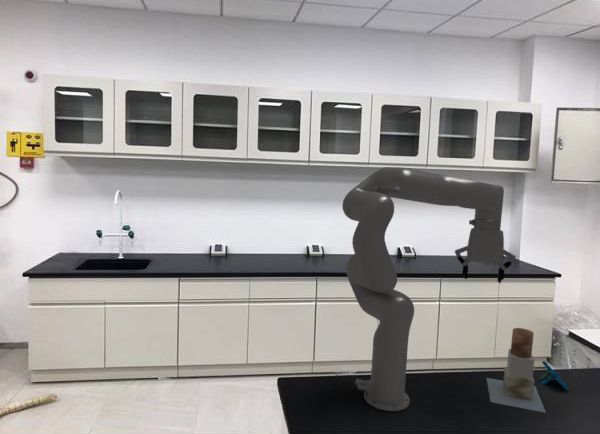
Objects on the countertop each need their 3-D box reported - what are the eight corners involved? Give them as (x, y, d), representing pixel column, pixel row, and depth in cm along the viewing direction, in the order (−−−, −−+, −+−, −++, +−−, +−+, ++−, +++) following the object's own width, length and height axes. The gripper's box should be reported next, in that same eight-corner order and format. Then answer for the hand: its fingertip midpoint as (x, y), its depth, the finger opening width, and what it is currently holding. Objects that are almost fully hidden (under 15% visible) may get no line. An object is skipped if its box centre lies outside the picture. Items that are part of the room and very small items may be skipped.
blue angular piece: (574, 392, 132) (549, 363, 134) (557, 403, 133) (532, 375, 136) (565, 381, 142) (542, 355, 145) (549, 391, 144) (527, 365, 146)
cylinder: (511, 356, 129) (514, 333, 128) (509, 349, 134) (511, 326, 134) (532, 359, 127) (535, 336, 127) (529, 352, 133) (531, 329, 132)
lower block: (505, 396, 130) (507, 376, 129) (503, 385, 137) (504, 366, 136) (532, 401, 128) (534, 381, 127) (528, 389, 134) (530, 371, 134)
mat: (490, 403, 126) (490, 401, 126) (486, 379, 141) (486, 377, 141) (545, 414, 122) (545, 412, 122) (535, 387, 137) (535, 386, 137)
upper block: (509, 376, 130) (511, 356, 129) (506, 367, 135) (508, 348, 135) (532, 380, 128) (534, 360, 127) (528, 371, 133) (530, 352, 133)
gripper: (457, 224, 135) (452, 279, 136) (520, 228, 129) (514, 286, 131) (457, 221, 142) (452, 274, 143) (516, 226, 136) (511, 280, 138)
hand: (482, 279), depth 137 cm, fingers open, 9 cm apart
